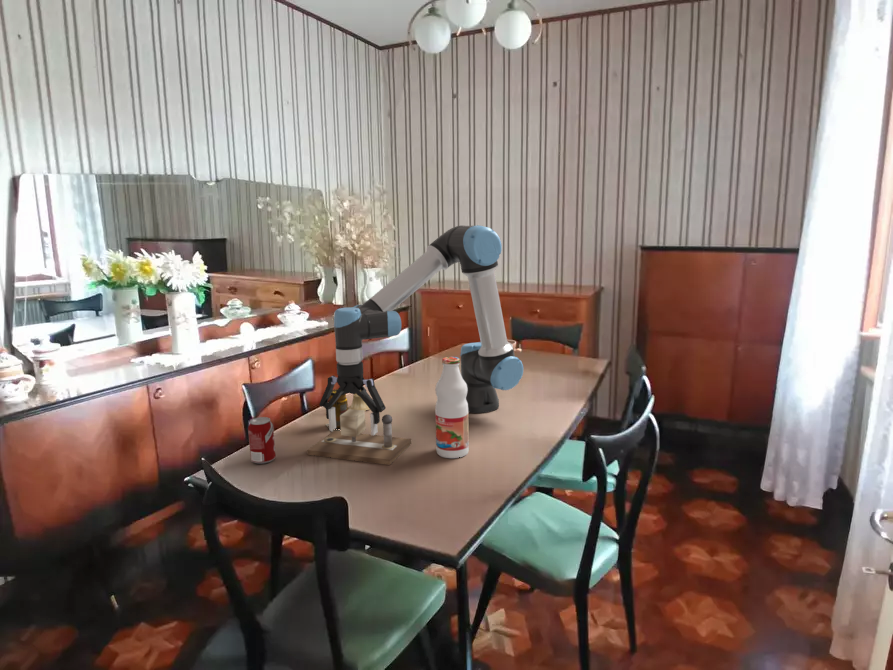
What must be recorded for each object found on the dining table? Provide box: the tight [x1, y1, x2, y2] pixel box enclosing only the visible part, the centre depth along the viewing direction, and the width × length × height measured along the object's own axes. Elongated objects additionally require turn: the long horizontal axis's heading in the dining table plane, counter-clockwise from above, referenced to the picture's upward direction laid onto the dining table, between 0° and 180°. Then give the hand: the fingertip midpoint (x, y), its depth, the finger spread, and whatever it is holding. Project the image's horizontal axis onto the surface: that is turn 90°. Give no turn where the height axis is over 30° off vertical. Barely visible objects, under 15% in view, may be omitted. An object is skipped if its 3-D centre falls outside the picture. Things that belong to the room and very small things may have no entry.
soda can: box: [247, 416, 277, 465], centre depth 166 cm, size 7×7×12 cm
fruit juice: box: [434, 356, 470, 459], centre depth 167 cm, size 9×9×28 cm
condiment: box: [325, 388, 349, 433], centre depth 191 cm, size 7×8×12 cm
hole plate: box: [306, 414, 412, 466], centre depth 173 cm, size 26×16×12 cm, turn 72°
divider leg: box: [340, 408, 367, 442], centre depth 173 cm, size 5×6×9 cm
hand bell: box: [348, 390, 371, 412], centre depth 209 cm, size 8×8×16 cm
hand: (353, 431), depth 174 cm, fingers open, 13 cm apart
